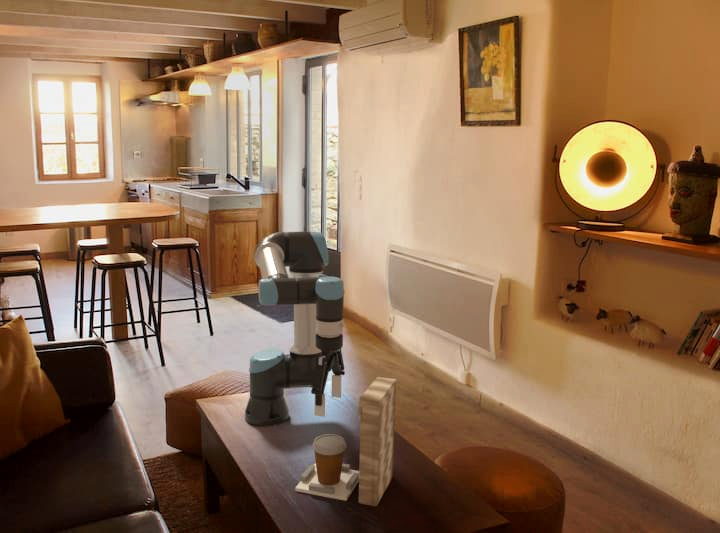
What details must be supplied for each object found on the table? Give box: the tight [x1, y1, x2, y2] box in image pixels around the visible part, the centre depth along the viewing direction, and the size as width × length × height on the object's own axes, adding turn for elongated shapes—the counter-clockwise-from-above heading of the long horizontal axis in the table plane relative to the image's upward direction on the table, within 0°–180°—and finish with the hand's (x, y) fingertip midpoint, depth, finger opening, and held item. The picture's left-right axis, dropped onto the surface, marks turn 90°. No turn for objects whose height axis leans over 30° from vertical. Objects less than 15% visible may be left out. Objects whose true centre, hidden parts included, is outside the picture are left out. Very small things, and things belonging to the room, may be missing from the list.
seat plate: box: [294, 462, 359, 501], centre depth 195 cm, size 15×15×2 cm
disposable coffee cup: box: [312, 433, 347, 485], centre depth 194 cm, size 10×10×12 cm
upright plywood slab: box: [358, 376, 397, 507], centre depth 190 cm, size 17×6×30 cm, turn 162°
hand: (328, 405), depth 192 cm, fingers open, 13 cm apart
